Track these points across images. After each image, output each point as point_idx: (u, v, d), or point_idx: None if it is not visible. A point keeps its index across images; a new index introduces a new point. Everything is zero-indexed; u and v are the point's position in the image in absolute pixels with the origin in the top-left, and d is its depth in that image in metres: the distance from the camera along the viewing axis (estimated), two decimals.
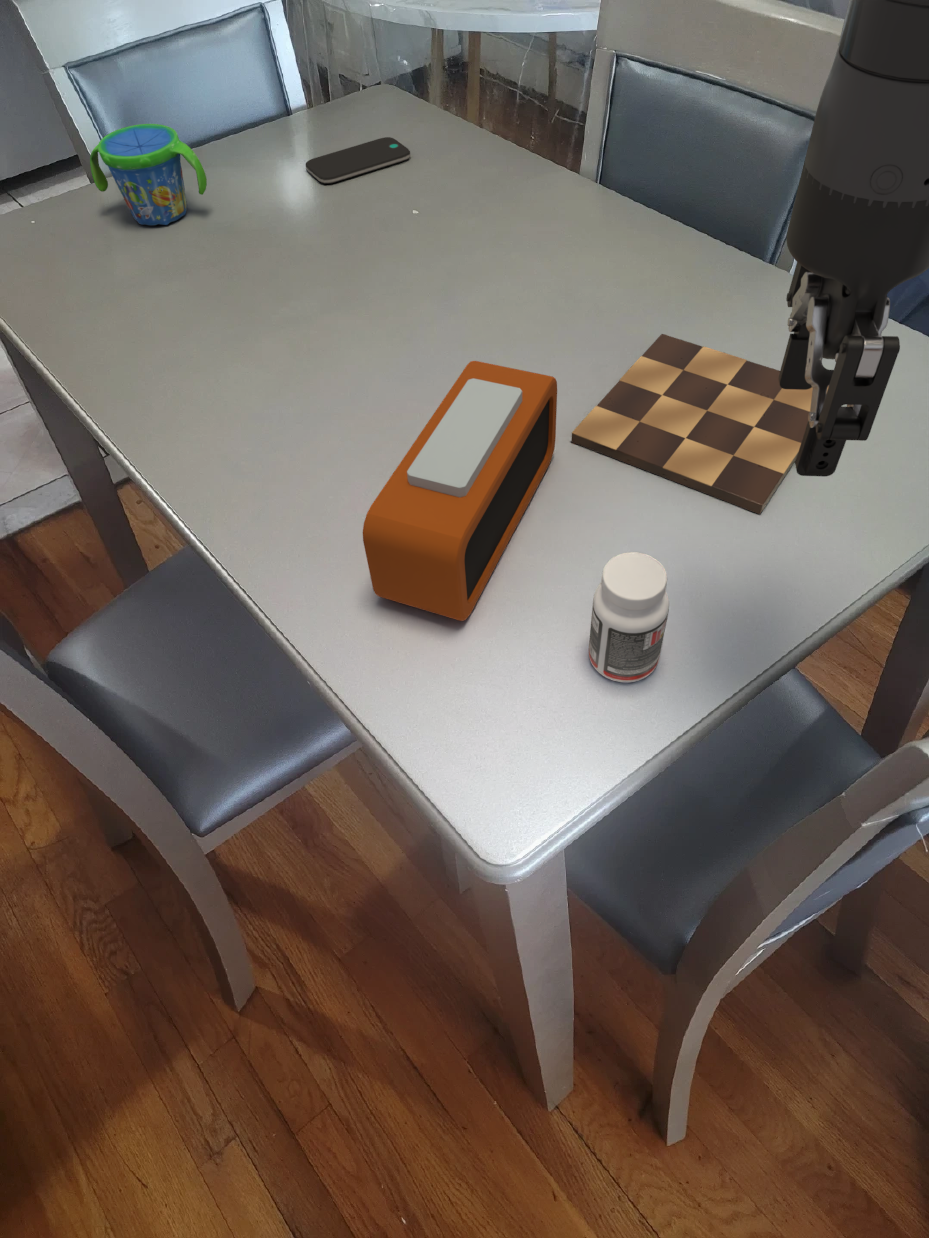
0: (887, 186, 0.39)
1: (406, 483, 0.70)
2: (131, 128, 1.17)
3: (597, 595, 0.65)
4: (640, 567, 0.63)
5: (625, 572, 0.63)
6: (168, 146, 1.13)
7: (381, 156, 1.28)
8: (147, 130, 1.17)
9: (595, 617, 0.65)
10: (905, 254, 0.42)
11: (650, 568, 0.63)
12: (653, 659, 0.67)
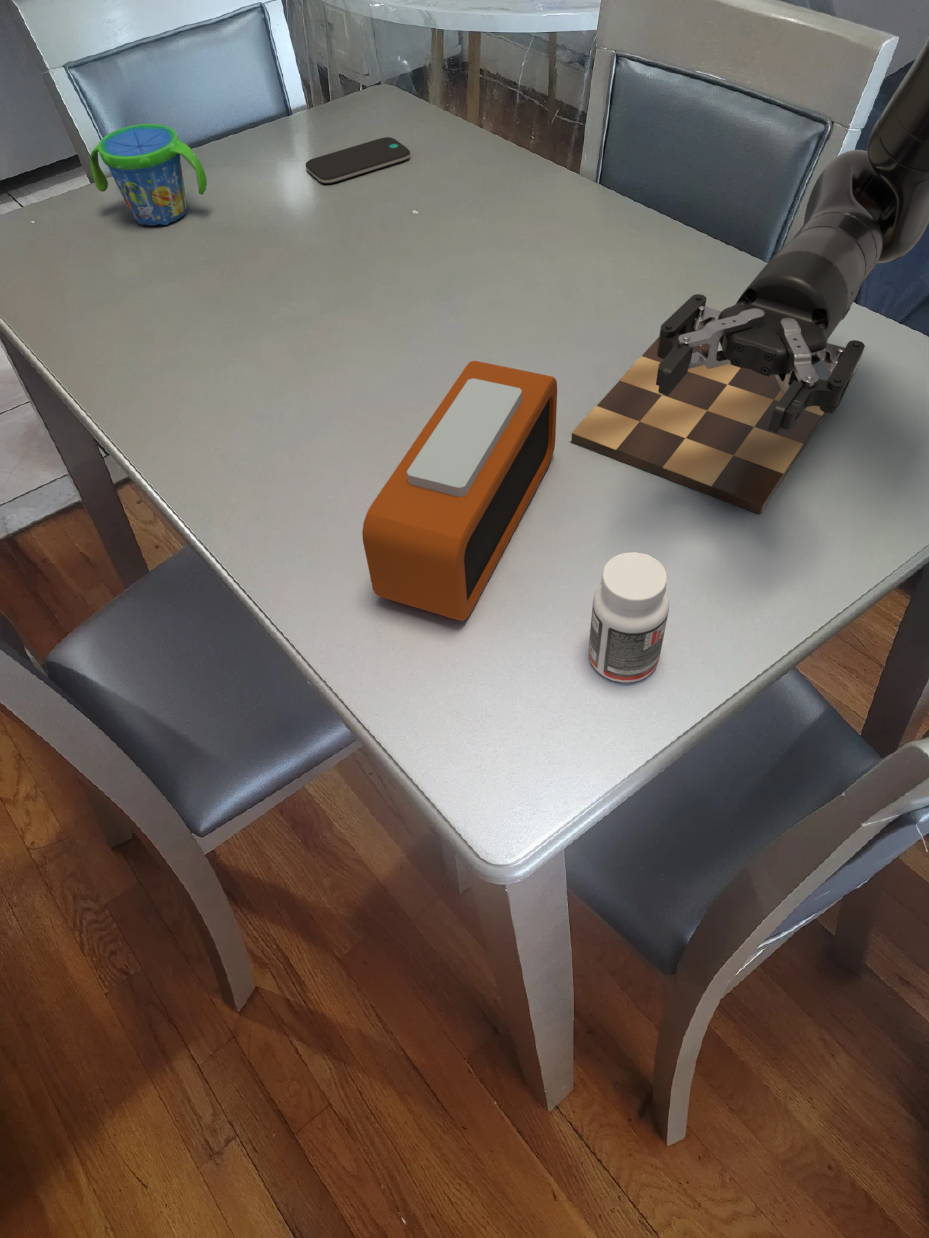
0: None
1: (405, 483, 0.70)
2: (131, 128, 1.17)
3: (597, 595, 0.65)
4: (640, 567, 0.63)
5: (625, 572, 0.63)
6: (168, 146, 1.13)
7: (381, 156, 1.28)
8: (147, 130, 1.17)
9: (595, 617, 0.65)
10: None
11: (650, 568, 0.63)
12: (653, 659, 0.67)
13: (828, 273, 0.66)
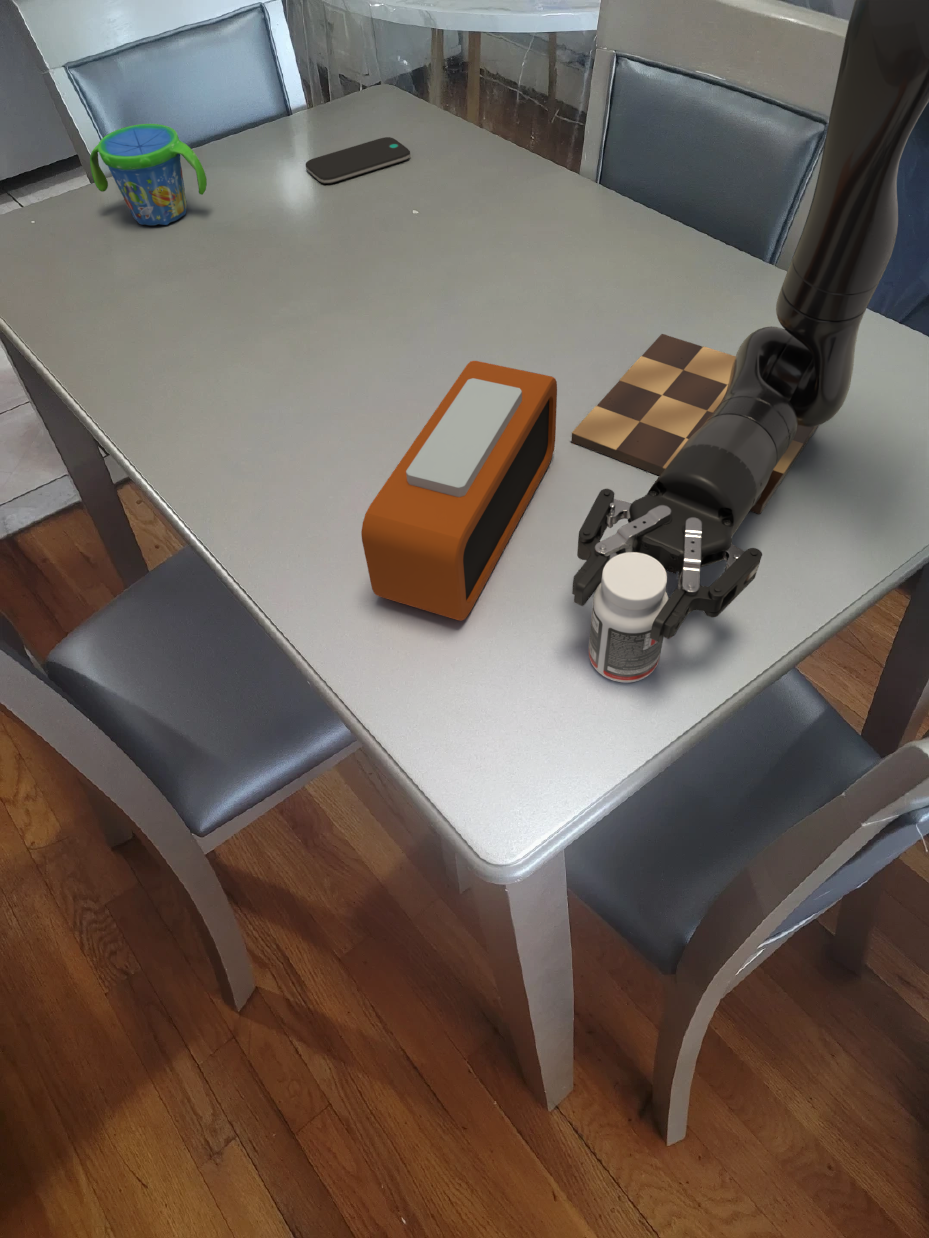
0: None
1: (405, 483, 0.70)
2: (131, 128, 1.17)
3: (597, 595, 0.65)
4: (640, 567, 0.63)
5: (624, 572, 0.63)
6: (168, 146, 1.13)
7: (381, 156, 1.28)
8: (147, 130, 1.17)
9: (595, 617, 0.65)
10: None
11: (650, 568, 0.63)
12: (653, 659, 0.67)
13: (734, 470, 0.67)
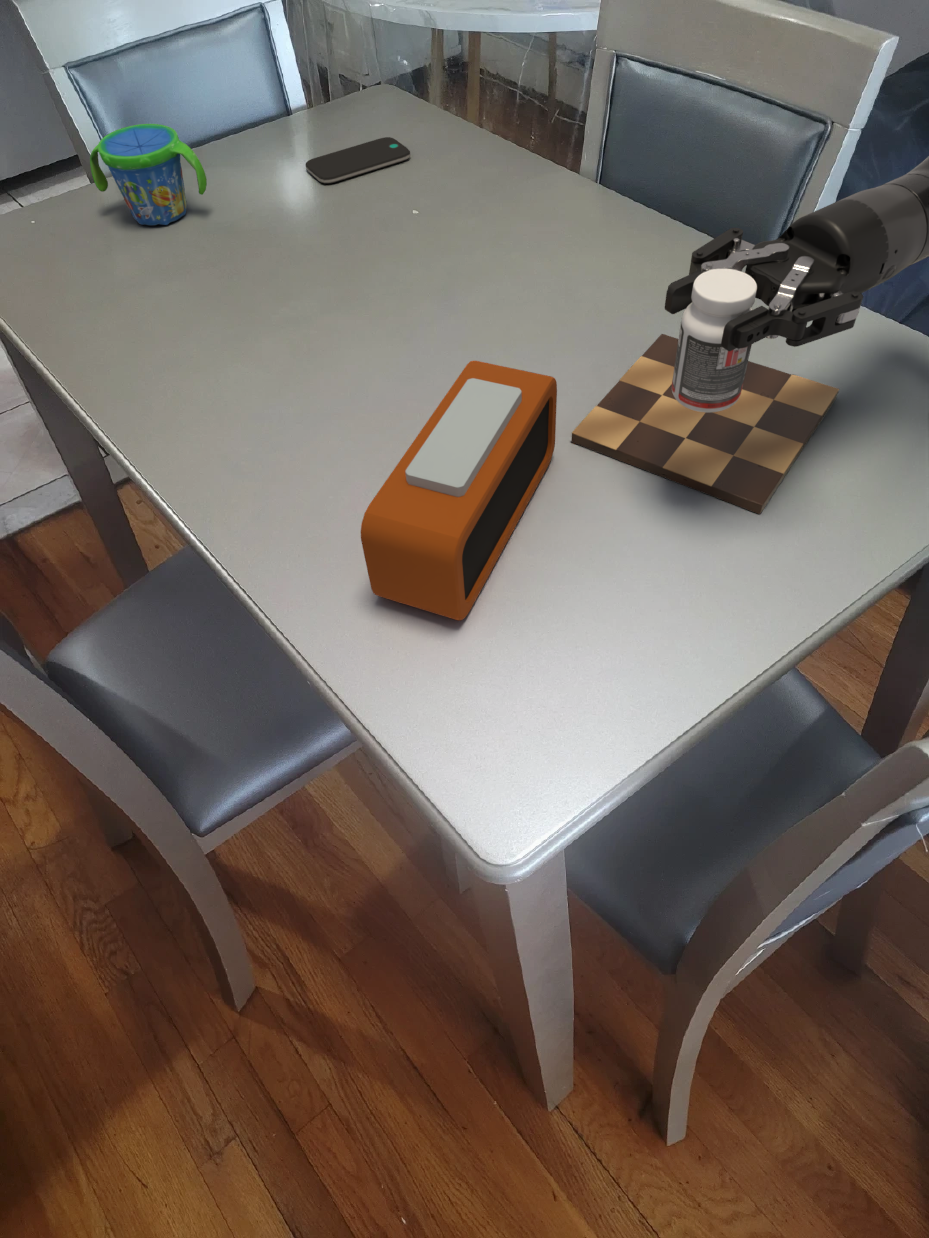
0: None
1: (404, 482, 0.70)
2: (131, 128, 1.17)
3: (688, 306, 0.68)
4: (733, 280, 0.65)
5: (716, 281, 0.65)
6: (168, 146, 1.13)
7: (381, 156, 1.28)
8: (147, 130, 1.17)
9: (680, 328, 0.68)
10: None
11: (743, 283, 0.65)
12: (727, 390, 0.69)
13: (867, 223, 0.67)
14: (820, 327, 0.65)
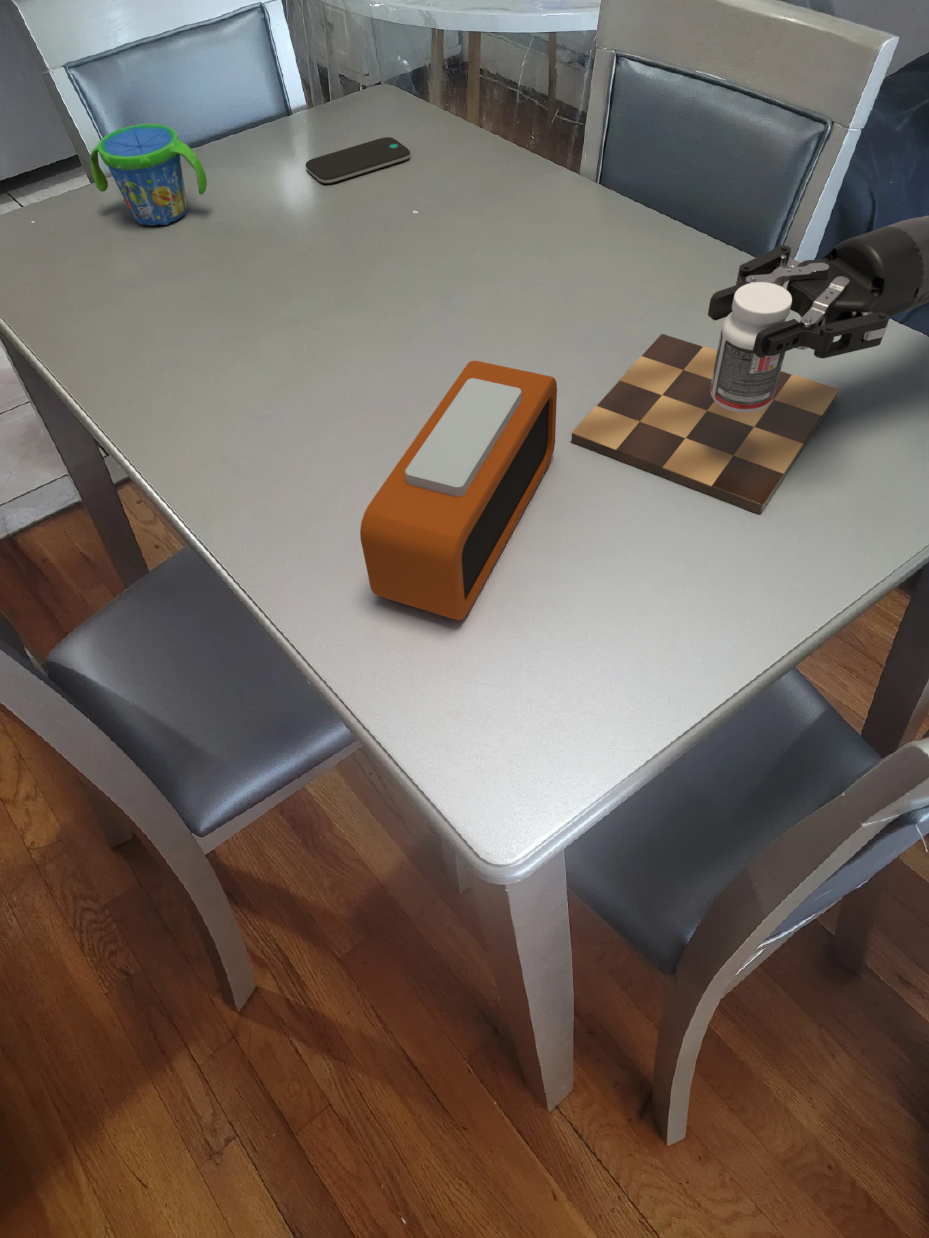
0: None
1: (404, 482, 0.70)
2: (131, 128, 1.17)
3: (729, 314, 0.75)
4: (771, 294, 0.72)
5: (756, 293, 0.72)
6: (168, 146, 1.13)
7: (381, 156, 1.28)
8: (147, 130, 1.17)
9: None
10: None
11: (779, 296, 0.72)
12: (759, 393, 0.76)
13: (904, 250, 0.73)
14: (847, 342, 0.71)
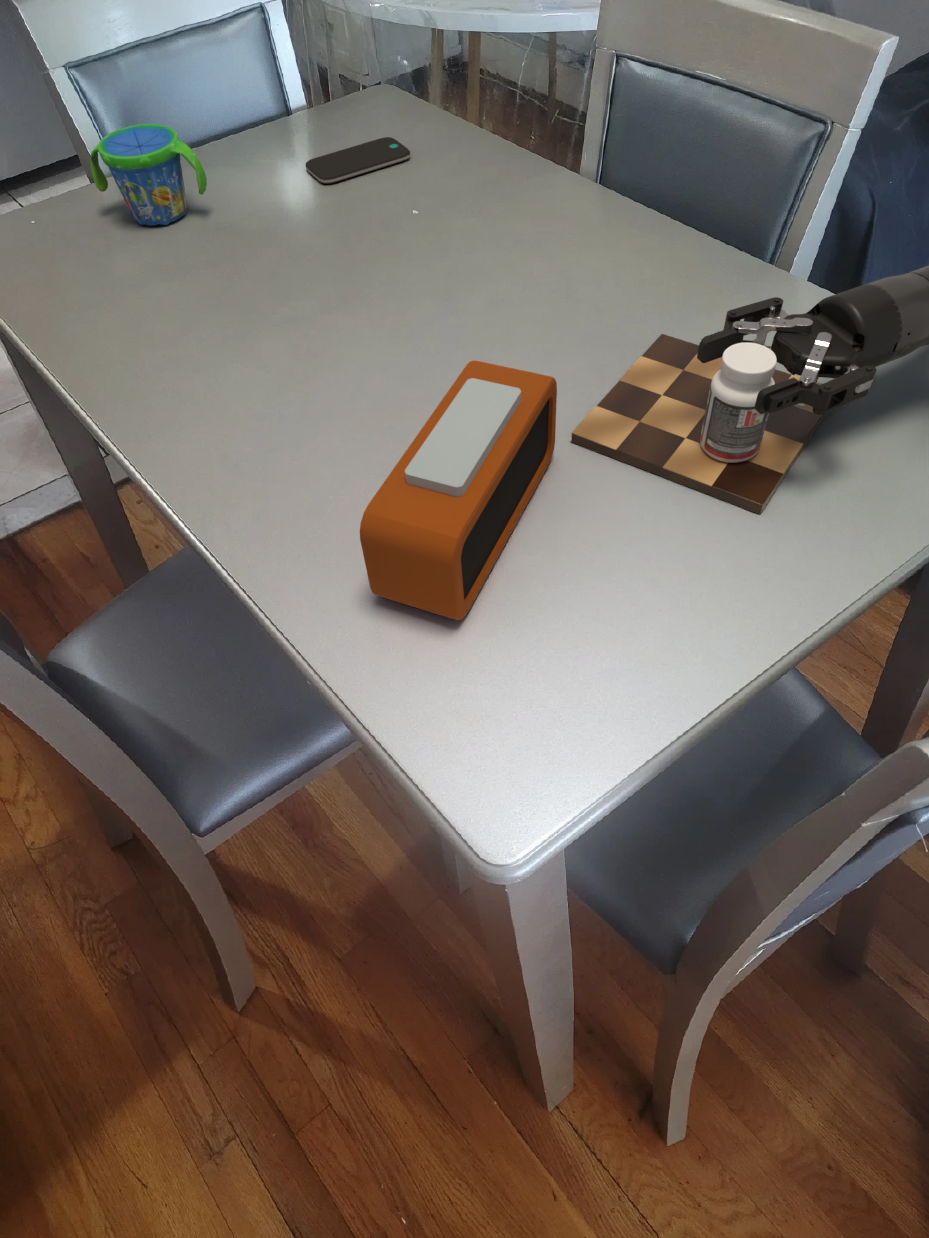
0: None
1: (403, 482, 0.70)
2: (131, 128, 1.17)
3: (718, 371, 0.79)
4: (757, 354, 0.77)
5: (743, 354, 0.77)
6: (168, 146, 1.13)
7: (381, 156, 1.28)
8: (147, 130, 1.17)
9: None
10: None
11: (765, 357, 0.76)
12: (745, 445, 0.81)
13: (884, 308, 0.77)
14: (841, 397, 0.75)
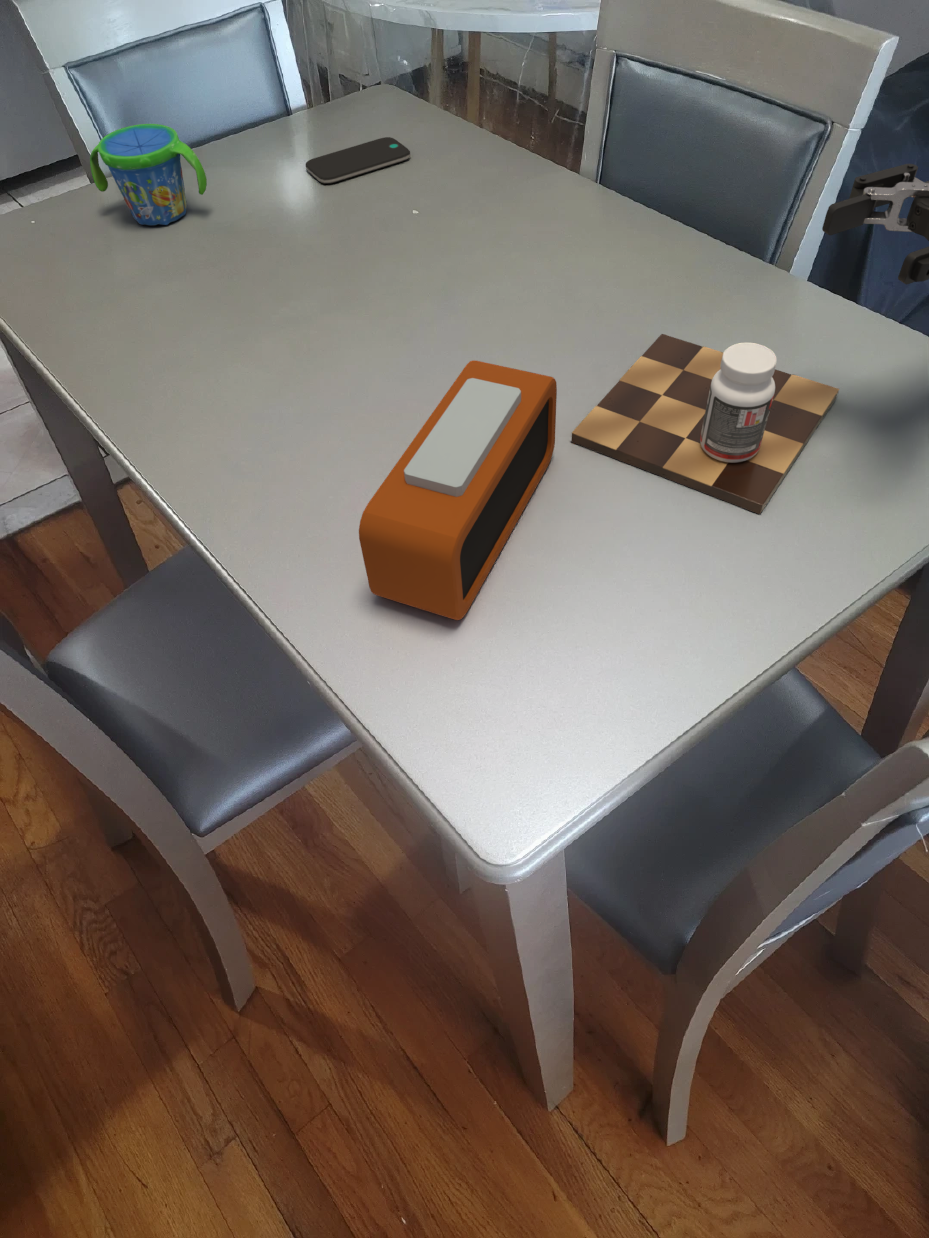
0: None
1: (403, 482, 0.70)
2: (131, 128, 1.17)
3: (718, 371, 0.79)
4: (757, 354, 0.77)
5: (743, 354, 0.77)
6: (168, 146, 1.13)
7: (381, 156, 1.28)
8: (147, 130, 1.17)
9: None
10: None
11: (765, 357, 0.76)
12: (745, 445, 0.81)
13: None
14: None
